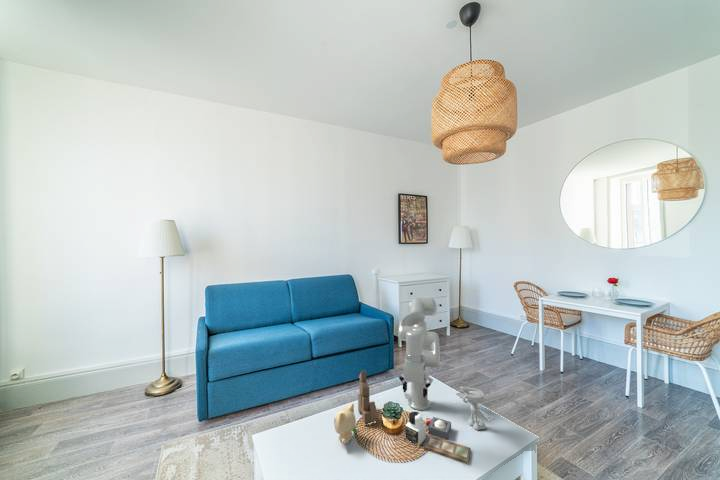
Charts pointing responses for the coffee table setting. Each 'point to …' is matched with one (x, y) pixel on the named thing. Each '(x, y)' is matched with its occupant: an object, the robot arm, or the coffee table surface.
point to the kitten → (345, 424)
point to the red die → (428, 421)
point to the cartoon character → (475, 406)
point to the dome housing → (438, 431)
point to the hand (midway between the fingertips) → (414, 393)
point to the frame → (426, 440)
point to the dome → (440, 424)
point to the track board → (448, 449)
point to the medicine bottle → (415, 428)
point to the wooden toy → (365, 401)
